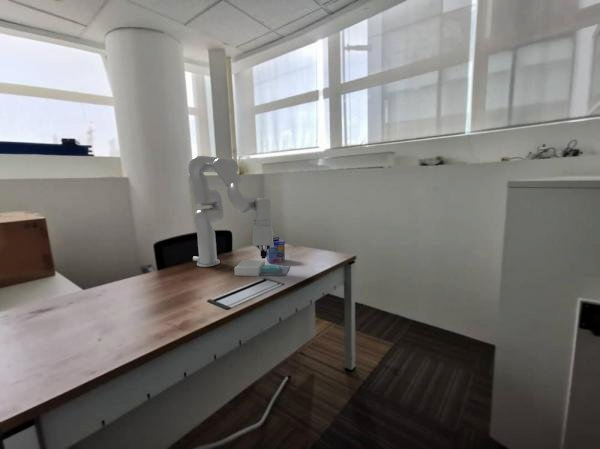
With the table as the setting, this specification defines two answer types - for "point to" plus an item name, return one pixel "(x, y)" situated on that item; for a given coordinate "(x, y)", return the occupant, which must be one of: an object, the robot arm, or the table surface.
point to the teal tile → (270, 268)
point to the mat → (281, 272)
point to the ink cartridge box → (276, 252)
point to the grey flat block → (249, 267)
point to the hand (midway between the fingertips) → (263, 257)
